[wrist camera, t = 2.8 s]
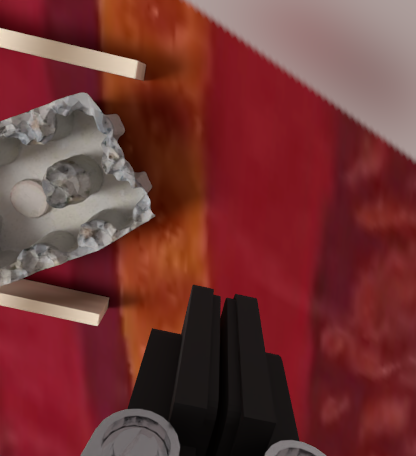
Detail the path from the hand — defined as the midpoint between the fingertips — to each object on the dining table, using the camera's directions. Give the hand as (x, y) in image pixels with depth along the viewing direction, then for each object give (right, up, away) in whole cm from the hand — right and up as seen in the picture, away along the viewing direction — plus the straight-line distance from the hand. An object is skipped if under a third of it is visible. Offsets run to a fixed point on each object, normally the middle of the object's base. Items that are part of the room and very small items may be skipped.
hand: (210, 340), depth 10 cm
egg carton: (-9, +6, +12) cm, 16 cm away
